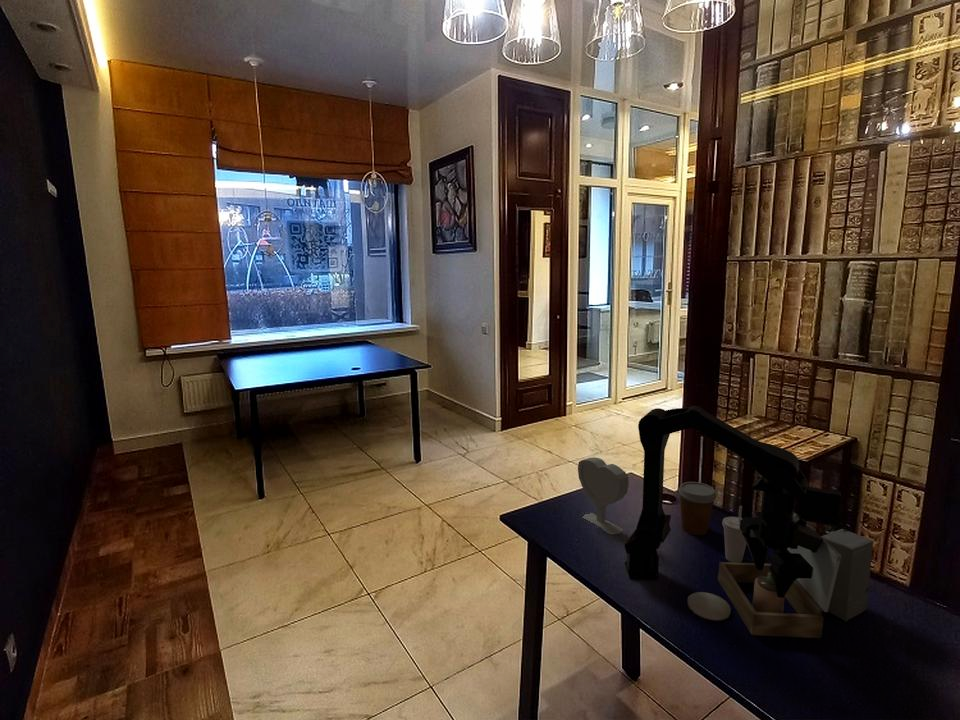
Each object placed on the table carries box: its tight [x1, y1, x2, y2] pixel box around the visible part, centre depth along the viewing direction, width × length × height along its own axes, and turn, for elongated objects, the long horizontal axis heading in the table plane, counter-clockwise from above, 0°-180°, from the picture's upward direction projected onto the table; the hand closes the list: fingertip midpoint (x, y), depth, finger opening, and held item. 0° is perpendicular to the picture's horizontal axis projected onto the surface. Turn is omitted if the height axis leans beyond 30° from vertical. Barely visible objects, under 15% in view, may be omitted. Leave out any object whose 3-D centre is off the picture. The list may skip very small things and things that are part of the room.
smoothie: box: [721, 505, 747, 563], centre depth 126 cm, size 6×6×14 cm
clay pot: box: [751, 572, 786, 613], centre depth 107 cm, size 6×6×9 cm
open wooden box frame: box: [717, 561, 825, 639], centre depth 108 cm, size 16×18×12 cm
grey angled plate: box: [787, 512, 842, 613], centre depth 107 cm, size 12×17×1 cm
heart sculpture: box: [577, 457, 630, 535], centre depth 144 cm, size 16×5×18 cm, turn 34°
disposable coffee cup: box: [678, 481, 717, 536], centre depth 140 cm, size 10×10×12 cm
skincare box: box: [815, 528, 874, 622], centre depth 108 cm, size 8×7×16 cm
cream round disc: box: [686, 591, 732, 621], centre depth 110 cm, size 8×8×1 cm
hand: (769, 582), depth 107 cm, fingers open, 9 cm apart
